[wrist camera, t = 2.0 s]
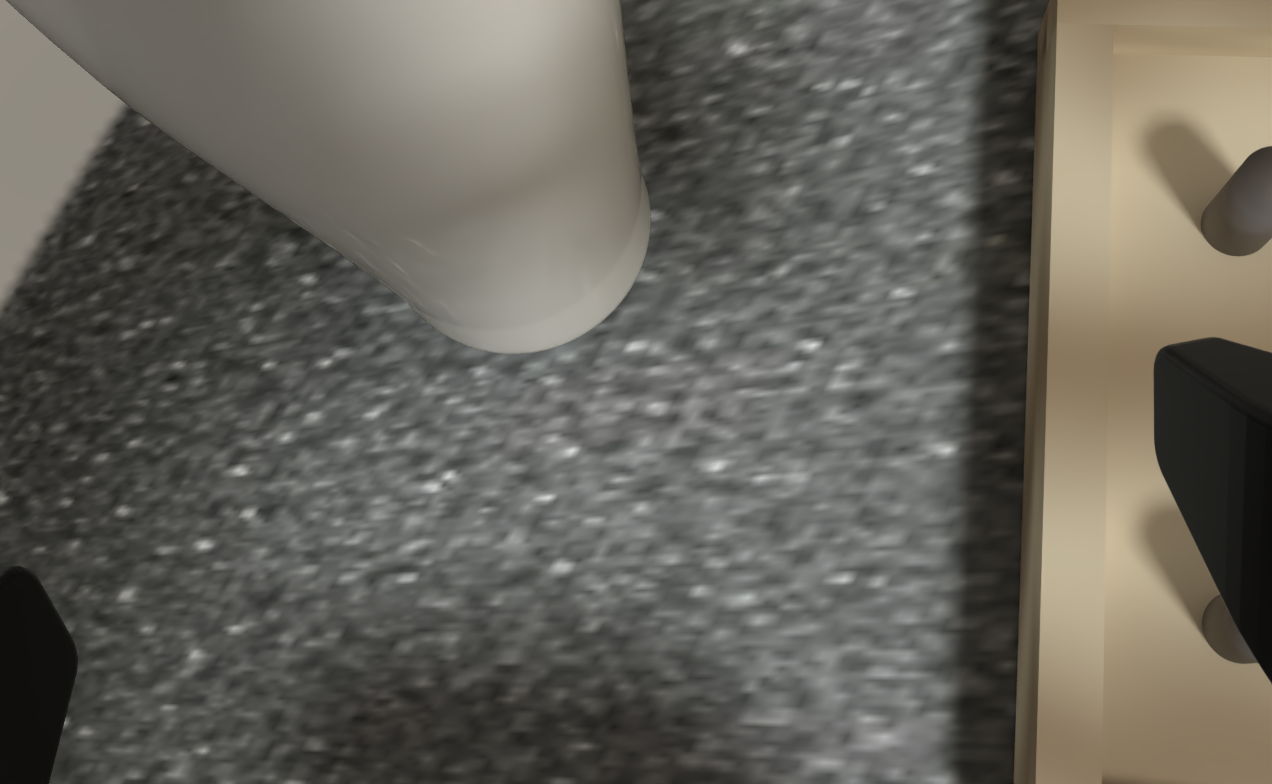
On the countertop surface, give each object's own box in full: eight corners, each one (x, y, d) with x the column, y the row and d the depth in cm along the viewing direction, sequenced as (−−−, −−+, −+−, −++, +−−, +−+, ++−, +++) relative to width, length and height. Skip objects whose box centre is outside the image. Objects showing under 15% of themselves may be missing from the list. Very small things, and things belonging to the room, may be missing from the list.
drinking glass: (324, 173, 26) (-292, -505, 11) (610, 38, 25) (361, -824, 11) (436, 453, 24) (-132, 71, 9) (746, 308, 24) (659, -306, 9)
